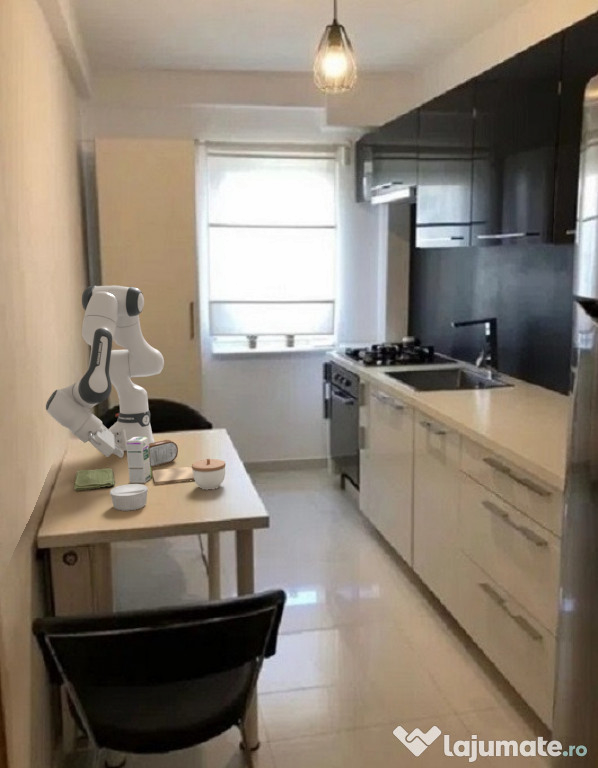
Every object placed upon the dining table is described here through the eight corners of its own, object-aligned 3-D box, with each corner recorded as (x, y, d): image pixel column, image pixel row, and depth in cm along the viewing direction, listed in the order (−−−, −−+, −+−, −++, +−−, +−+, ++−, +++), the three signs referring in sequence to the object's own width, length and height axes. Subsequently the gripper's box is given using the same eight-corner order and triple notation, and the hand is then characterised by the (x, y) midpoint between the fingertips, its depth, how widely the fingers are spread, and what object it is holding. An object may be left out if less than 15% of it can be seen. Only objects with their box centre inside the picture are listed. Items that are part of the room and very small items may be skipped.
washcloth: (73, 493, 231) (72, 483, 230) (75, 478, 248) (75, 469, 247) (115, 489, 234) (114, 479, 234) (114, 474, 251) (114, 465, 250)
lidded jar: (217, 493, 225) (215, 464, 223) (187, 490, 228) (185, 462, 227) (232, 483, 234) (230, 455, 233) (202, 480, 238) (201, 453, 237)
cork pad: (155, 484, 235) (154, 482, 235) (152, 473, 249) (152, 470, 249) (197, 480, 239) (197, 477, 239) (192, 469, 252) (192, 466, 252)
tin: (175, 459, 266) (173, 437, 265) (180, 460, 264) (178, 438, 262) (140, 468, 256) (138, 445, 254) (144, 470, 254) (143, 446, 252)
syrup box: (145, 483, 238) (142, 440, 235) (128, 482, 239) (125, 440, 236) (152, 478, 243) (149, 436, 241) (136, 477, 244) (132, 436, 242)
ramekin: (125, 515, 208) (124, 497, 207) (103, 507, 215) (101, 490, 214) (156, 504, 216) (155, 487, 215) (134, 497, 223) (132, 481, 223)
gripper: (95, 428, 224) (129, 455, 228) (96, 415, 244) (128, 441, 248) (82, 444, 224) (116, 470, 228) (84, 429, 244) (115, 454, 248)
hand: (122, 455), depth 238 cm, fingers closed
